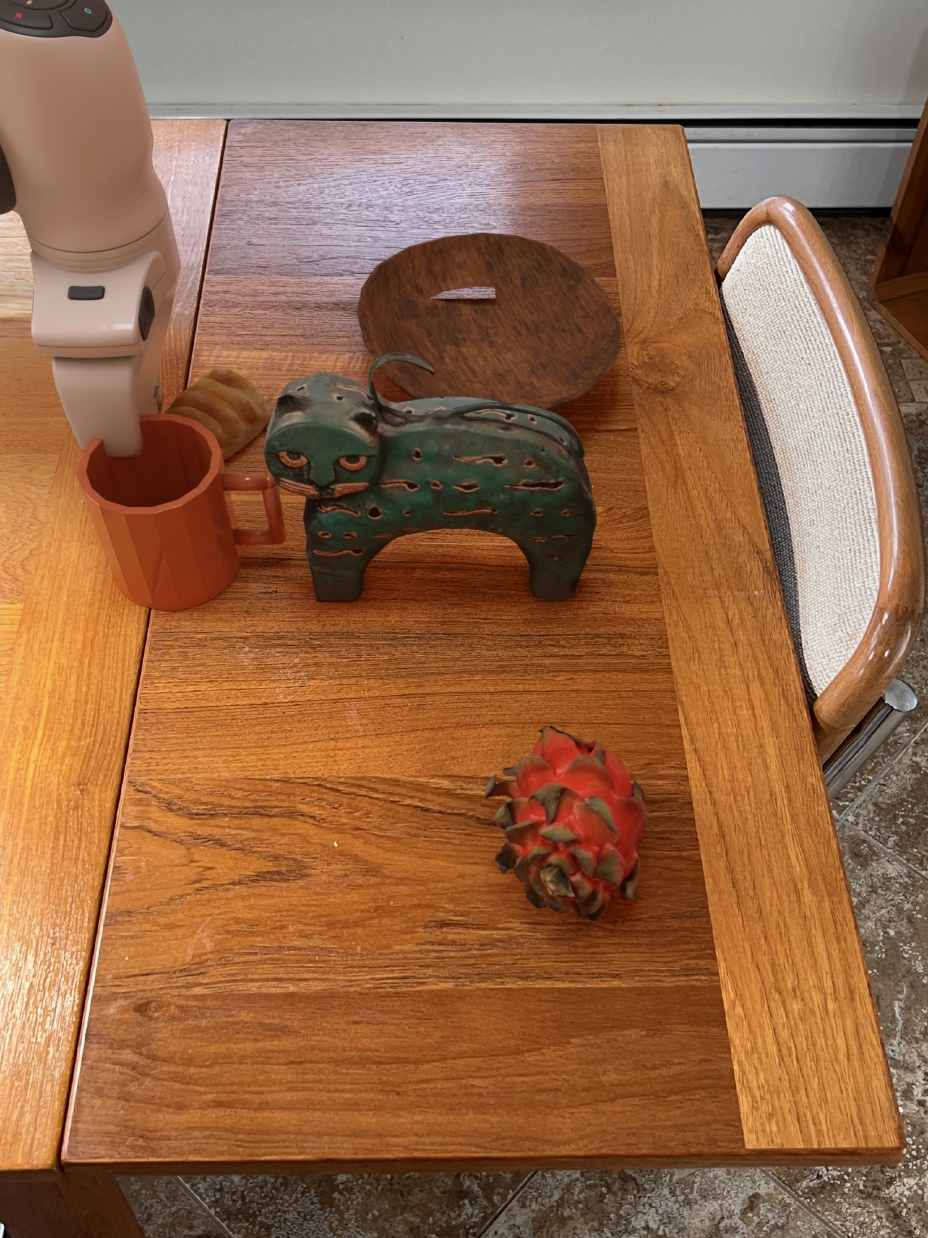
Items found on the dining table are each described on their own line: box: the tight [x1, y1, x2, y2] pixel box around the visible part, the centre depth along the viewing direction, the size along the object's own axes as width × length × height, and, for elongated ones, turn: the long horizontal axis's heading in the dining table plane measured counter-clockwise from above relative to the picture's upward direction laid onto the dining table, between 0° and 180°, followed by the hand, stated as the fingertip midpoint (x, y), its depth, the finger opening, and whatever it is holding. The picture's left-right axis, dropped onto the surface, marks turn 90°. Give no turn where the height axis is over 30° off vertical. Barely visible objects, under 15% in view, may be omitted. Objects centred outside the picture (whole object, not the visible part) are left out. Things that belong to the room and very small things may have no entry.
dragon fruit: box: [483, 725, 649, 922], centre depth 64 cm, size 8×8×12 cm
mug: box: [76, 413, 288, 611], centre depth 76 cm, size 12×9×10 cm
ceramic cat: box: [263, 352, 598, 603], centre depth 71 cm, size 20×6×20 cm, turn 89°
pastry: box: [164, 368, 272, 462], centre depth 85 cm, size 9×7×4 cm
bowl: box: [356, 232, 622, 413], centre depth 90 cm, size 20×22×5 cm
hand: (150, 412), depth 85 cm, fingers closed
